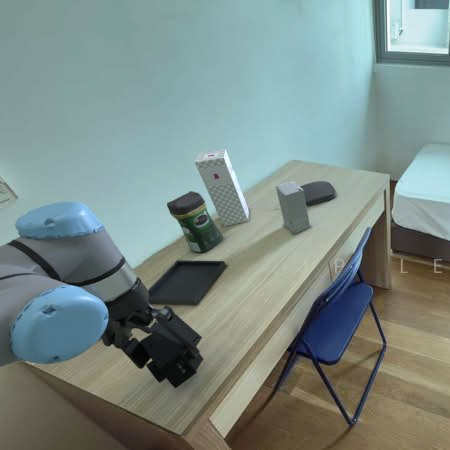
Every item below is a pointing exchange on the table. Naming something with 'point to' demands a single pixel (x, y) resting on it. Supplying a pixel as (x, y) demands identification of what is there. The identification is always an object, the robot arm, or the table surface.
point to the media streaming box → (318, 192)
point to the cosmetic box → (293, 206)
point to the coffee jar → (195, 221)
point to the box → (222, 186)
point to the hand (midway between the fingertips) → (171, 363)
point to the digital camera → (166, 361)
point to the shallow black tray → (185, 282)
